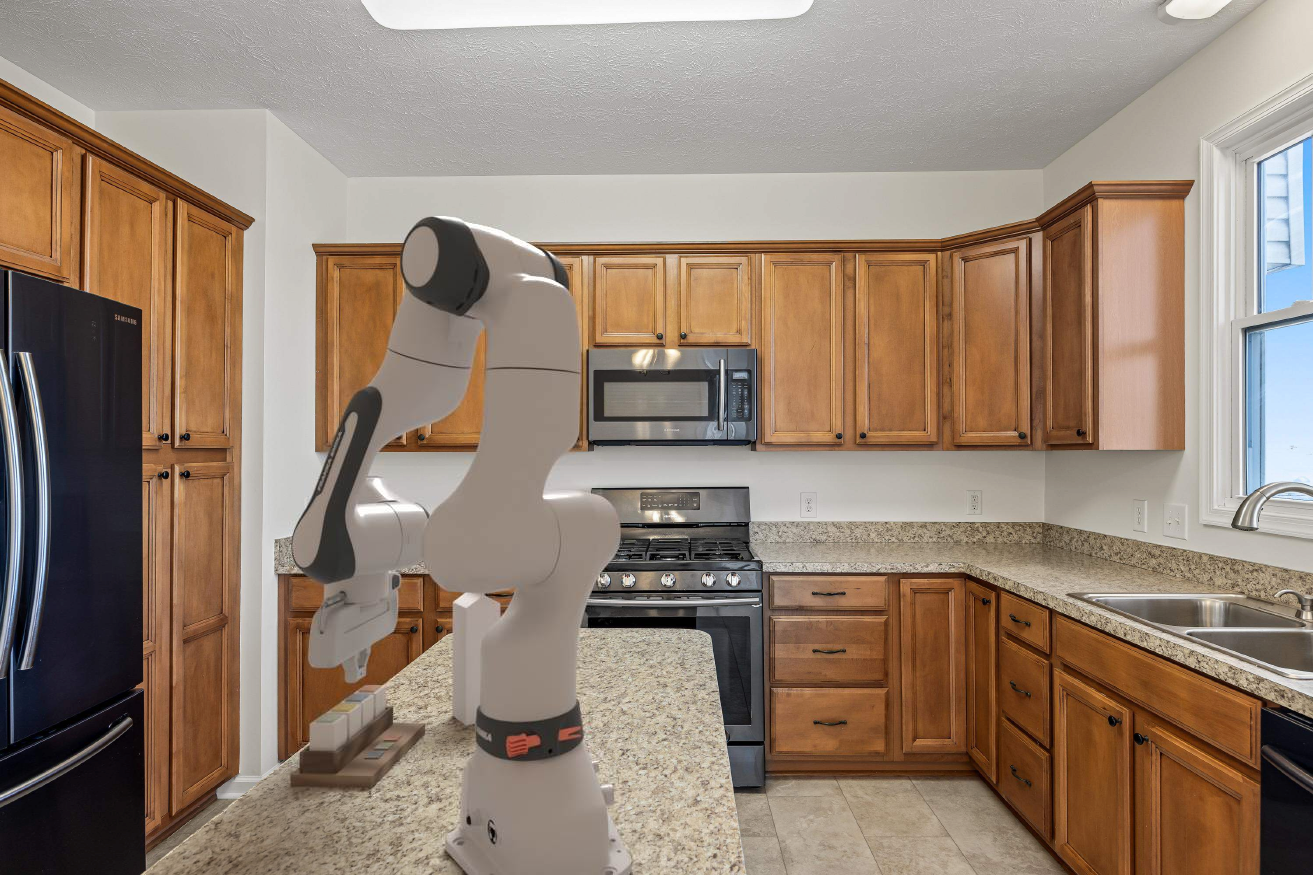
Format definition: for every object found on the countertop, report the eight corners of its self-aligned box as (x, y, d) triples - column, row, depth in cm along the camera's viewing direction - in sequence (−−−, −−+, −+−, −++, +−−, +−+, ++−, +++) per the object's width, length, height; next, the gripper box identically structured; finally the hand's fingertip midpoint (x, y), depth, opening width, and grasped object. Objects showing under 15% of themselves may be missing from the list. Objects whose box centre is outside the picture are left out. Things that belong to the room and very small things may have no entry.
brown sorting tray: (372, 787, 91) (372, 754, 91) (290, 785, 91) (290, 753, 91) (425, 732, 109) (425, 705, 109) (356, 731, 109) (356, 704, 109)
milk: (465, 726, 111) (465, 588, 112) (451, 715, 116) (451, 582, 116) (501, 717, 115) (500, 583, 115) (486, 707, 120) (485, 578, 120)
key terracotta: (375, 718, 104) (375, 691, 104) (353, 718, 104) (353, 691, 105) (385, 710, 108) (385, 684, 108) (364, 710, 108) (364, 683, 108)
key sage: (334, 753, 92) (334, 721, 92) (309, 752, 92) (309, 721, 93) (346, 742, 96) (347, 712, 96) (323, 742, 96) (323, 712, 96)
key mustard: (349, 740, 96) (349, 710, 96) (325, 740, 96) (325, 710, 97) (361, 731, 100) (361, 702, 100) (338, 730, 100) (338, 701, 100)
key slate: (362, 729, 100) (362, 700, 100) (339, 729, 100) (340, 700, 100) (373, 720, 104) (373, 692, 104) (351, 720, 104) (351, 692, 104)
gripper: (342, 601, 92) (340, 706, 92) (406, 573, 113) (404, 659, 112) (296, 600, 92) (294, 704, 92) (368, 573, 113) (366, 658, 113)
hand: (355, 679), depth 102 cm, fingers closed
